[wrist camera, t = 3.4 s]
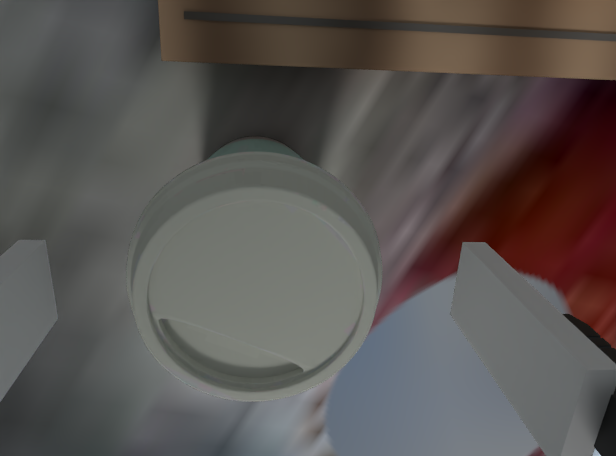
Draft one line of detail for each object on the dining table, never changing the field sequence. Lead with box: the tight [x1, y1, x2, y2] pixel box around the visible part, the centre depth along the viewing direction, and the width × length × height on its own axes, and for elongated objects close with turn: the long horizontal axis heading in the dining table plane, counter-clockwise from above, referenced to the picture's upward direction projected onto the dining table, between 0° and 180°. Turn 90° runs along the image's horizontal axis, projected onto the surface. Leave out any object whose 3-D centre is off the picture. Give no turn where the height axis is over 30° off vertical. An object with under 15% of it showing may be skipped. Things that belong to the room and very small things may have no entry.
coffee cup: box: [126, 136, 382, 402], centre depth 21 cm, size 8×8×12 cm
